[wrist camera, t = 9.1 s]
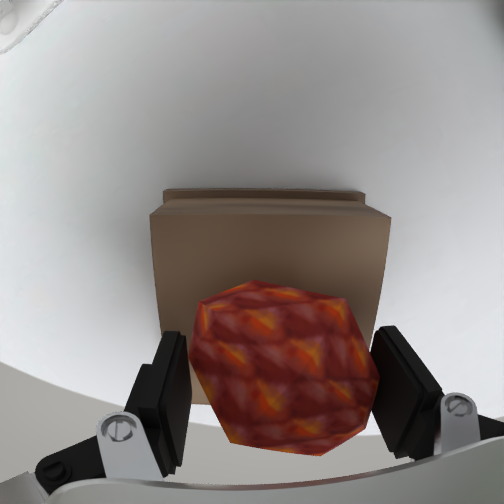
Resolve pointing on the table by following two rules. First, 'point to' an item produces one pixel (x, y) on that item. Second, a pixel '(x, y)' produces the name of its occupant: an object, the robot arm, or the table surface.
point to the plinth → (265, 250)
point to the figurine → (21, 19)
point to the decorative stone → (283, 367)
